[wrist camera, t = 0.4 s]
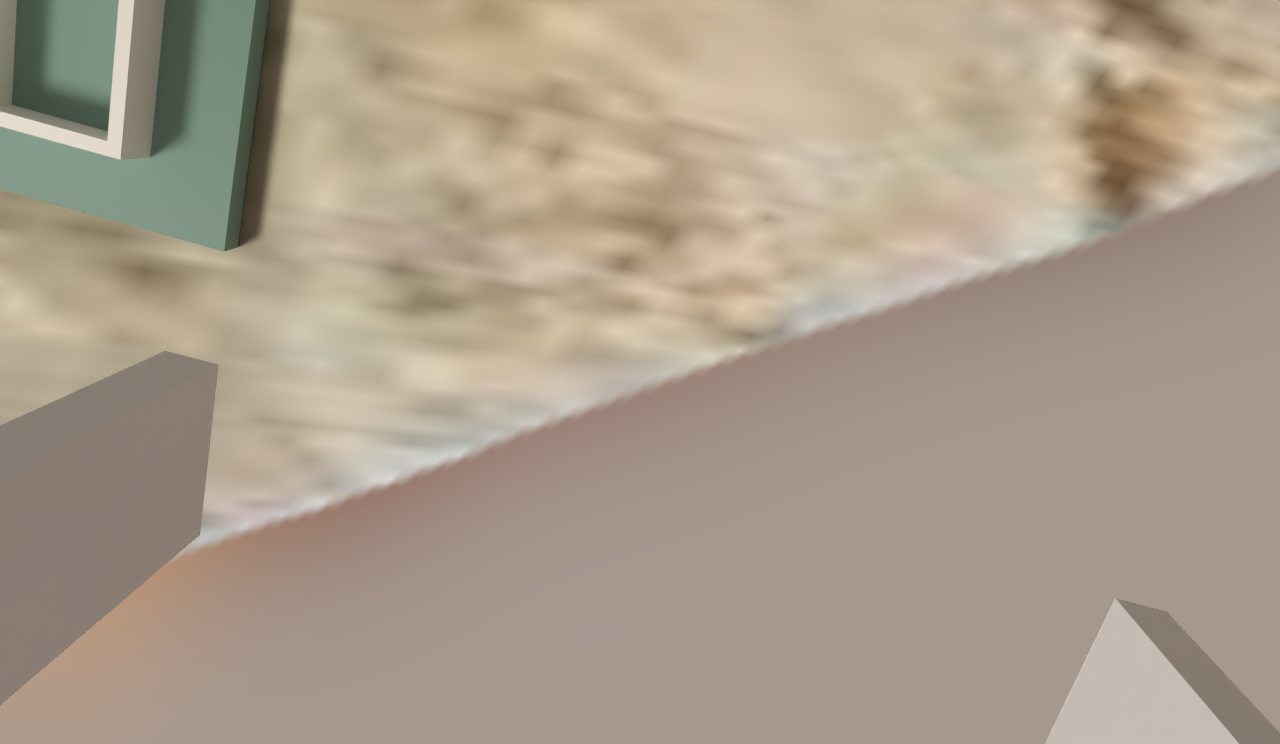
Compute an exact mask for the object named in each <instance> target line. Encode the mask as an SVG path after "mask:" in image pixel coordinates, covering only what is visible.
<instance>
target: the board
mask: <svg viewBox="0 0 1280 744" xmlns="http://www.w3.org/2000/svg"><path fill="white" fill-rule="evenodd" d="M269 5H270V0H0V189H1V190H5V191H8V192H12V193H15V194H19V195H23V196H26V197H30V198H33V199H37V200H41V201H44V202H48V203H52V204H55V205H59V206H62V207H66V208H70V209H73V210H77V211H80V212H84V213H88V214H91V215H95V216H99V217H102V218H106V219H109V220H113V221H117V222H120V223H124V224H127V225H131V226H135V227H138V228H142V229H145V230H149V231H153V232H156V233H160V234H164V235H167V236H171V237H174V238H178V239H182V240H185V241H189V242H192V243H196V244H200V245H203V246H207V247H211V248H214V249H218V250H221V251H227V250H230V249H234V248H237V247H238V243H239V235H240V228H241V220H242V212H243V205H244V197H245V189H246V182H247V174H248V166H249V159H250V151H251V143H252V136H253V128H254V120H255V113H256V105H257V97H258V90H259V82H260V74H261V67H262V59H263V51H264V44H265V36H266V28H267V21H268V13H269Z"/></svg>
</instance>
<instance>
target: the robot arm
mask: <svg viewBox="0 0 1280 744" xmlns="http://www.w3.org/2000/svg"><path fill="white" fill-rule="evenodd" d="M217 373H218V365H217V364H214V363H210V362H206V361H202V360H198V359H194V358H191V357H187V356H183V355H179V354H175V353H171V352H167V351H164V352H162V353H160V354H157V355H155V356H153V357H151V358H149V359H146V360H144V361H142V362H140V363H138V364H135V365H133V366H131V367H129V368H127V369H124V370H122V371H120V372H118V373H116V374H113V375H111V376H109V377H107V378H105V379H102V380H100V381H98V382H96V383H94V384H91V385H89V386H87V387H85V388H83V389H80V390H78V391H76V392H74V393H71V394H69V395H67V396H65V397H63V398H60V399H58V400H56V401H54V402H52V403H49V404H47V405H45V406H43V407H41V408H38V409H36V410H34V411H32V412H30V413H27V414H25V415H23V416H21V417H19V418H16V419H14V420H12V421H10V422H8V423H5V424H3V425H1V426H0V705H1V704H2V703H3V702H4V701H6V700H7V699H8V698H9V697H10V696H11V695H13V694H14V693H15V692H16V691H17V690H18V689H20V688H21V687H22V686H23V685H24V684H26V683H27V682H28V681H29V680H30V679H31V678H33V676H35V675H36V674H37V673H38V672H40V671H41V670H42V669H43V668H44V667H45V666H47V665H48V664H49V663H50V662H51V661H52V660H54V659H55V658H56V657H57V656H58V655H60V654H61V653H62V652H63V651H64V650H65V649H66V648H68V647H69V646H70V645H71V644H72V643H74V642H75V641H76V640H77V639H78V638H79V637H81V636H82V635H83V634H84V633H85V632H86V631H88V630H89V629H90V628H91V627H92V626H94V625H95V624H96V623H97V622H98V621H99V620H101V619H102V618H103V617H104V616H105V615H106V614H108V613H109V612H110V611H111V610H112V609H113V608H115V607H116V606H117V605H118V604H119V603H120V602H122V601H123V600H124V599H125V598H126V597H127V596H129V595H130V594H131V593H132V592H133V591H134V590H135V589H137V588H138V587H139V586H140V585H142V584H143V583H144V582H145V581H146V580H147V579H149V577H151V576H152V575H153V574H154V573H156V572H157V571H158V570H159V569H160V568H161V567H162V566H164V565H165V564H166V563H167V562H169V561H170V560H171V559H172V558H173V557H174V556H176V555H177V554H178V553H179V552H180V551H181V550H183V549H184V548H185V547H186V546H187V545H188V544H190V543H191V542H192V541H193V540H194V539H195V538H197V537H198V536H199V535H200V529H201V519H202V510H203V501H204V492H205V483H206V474H207V464H208V455H209V446H210V437H211V428H212V418H213V409H214V400H215V391H216V382H217ZM1045 744H1280V733H1279V731H1278V730H1277V729H1276V728H1275V727H1274V726H1273V725H1272V724H1271V723H1270V722H1269V721H1268V720H1267V719H1266V718H1265V716H1264V715H1263V714H1262V713H1261V712H1260V711H1259V710H1258V709H1257V708H1256V707H1255V706H1254V705H1253V704H1252V702H1251V701H1250V700H1249V699H1248V698H1247V697H1246V696H1245V695H1244V694H1243V693H1242V692H1241V691H1240V690H1239V689H1238V687H1237V686H1236V685H1235V684H1234V683H1233V682H1232V681H1231V680H1230V679H1229V678H1228V677H1227V676H1226V675H1225V673H1224V672H1223V671H1222V670H1221V669H1220V668H1219V667H1218V666H1217V665H1216V664H1215V663H1214V662H1213V661H1212V660H1211V659H1210V658H1209V656H1208V655H1207V654H1206V653H1205V652H1204V651H1203V650H1202V649H1201V648H1200V647H1199V646H1198V645H1197V644H1196V642H1195V641H1194V640H1193V639H1192V638H1191V637H1190V636H1189V635H1188V634H1187V633H1186V632H1185V631H1184V630H1183V628H1182V627H1181V626H1180V625H1179V624H1178V623H1177V622H1176V621H1175V620H1174V619H1173V618H1172V617H1171V616H1170V614H1169V613H1168V612H1166V611H1162V610H1159V609H1155V608H1151V607H1147V606H1143V605H1139V604H1135V603H1131V602H1128V601H1124V600H1120V599H1116V598H1115V600H1114V602H1113V604H1112V606H1111V608H1110V610H1109V612H1108V614H1107V616H1106V619H1105V621H1104V623H1103V625H1102V627H1101V629H1100V631H1099V633H1098V635H1097V637H1096V639H1095V641H1094V643H1093V645H1092V647H1091V650H1090V652H1089V654H1088V656H1087V658H1086V660H1085V662H1084V664H1083V666H1082V668H1081V671H1080V672H1079V675H1078V677H1077V679H1076V681H1075V683H1074V685H1073V687H1072V689H1071V691H1070V693H1069V695H1068V697H1067V699H1066V701H1065V704H1064V706H1063V708H1062V710H1061V712H1060V714H1059V716H1058V718H1057V720H1056V722H1055V724H1054V727H1053V728H1052V730H1051V733H1050V735H1049V737H1048V739H1047V741H1046V743H1045Z"/></svg>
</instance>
